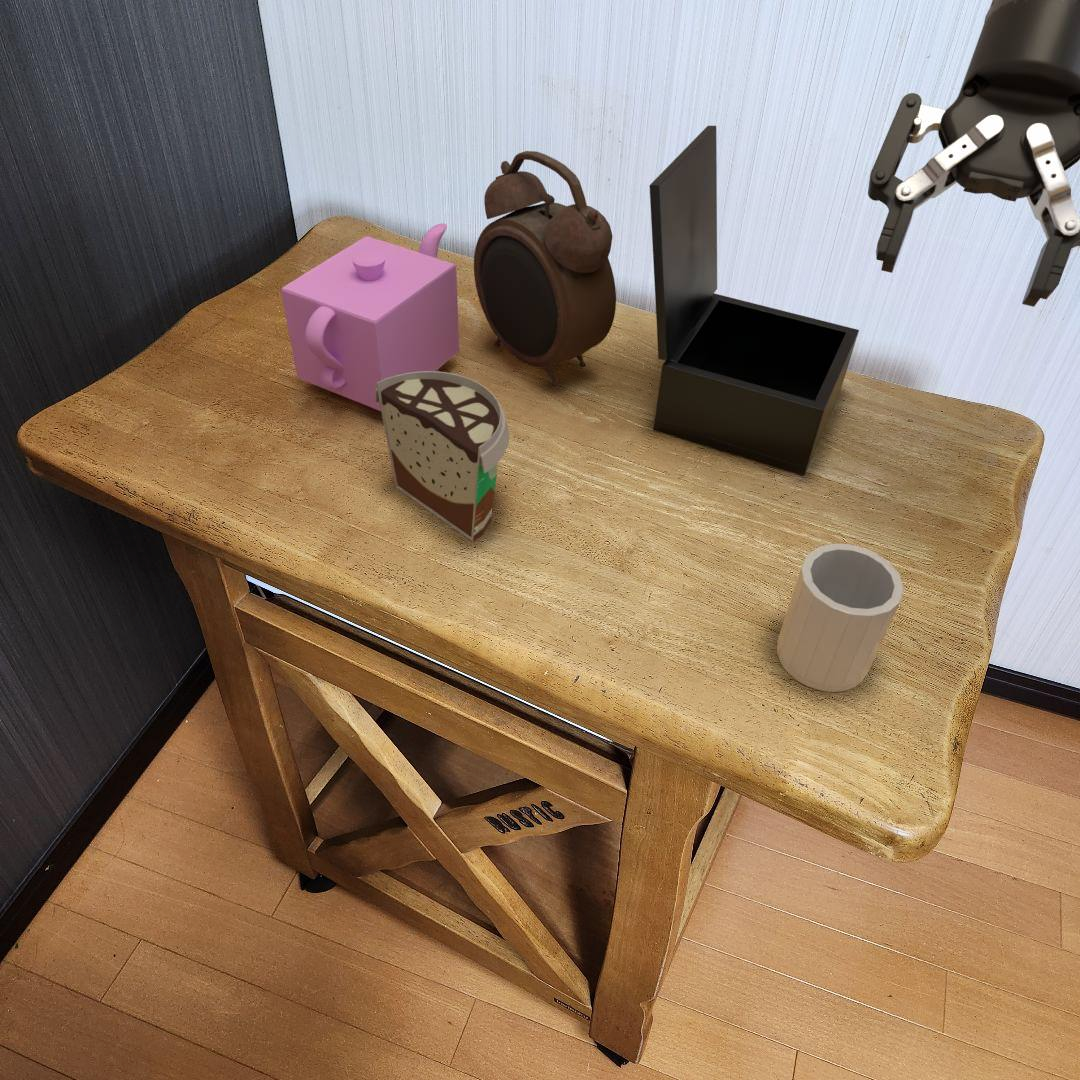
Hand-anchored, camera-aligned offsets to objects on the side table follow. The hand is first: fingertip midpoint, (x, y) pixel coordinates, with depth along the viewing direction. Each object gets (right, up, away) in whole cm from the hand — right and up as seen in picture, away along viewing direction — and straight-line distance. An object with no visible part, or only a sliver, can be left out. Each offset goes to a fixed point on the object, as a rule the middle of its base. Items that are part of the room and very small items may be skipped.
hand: (957, 284), depth 56 cm
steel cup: (-6, -24, +9) cm, 26 cm away
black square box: (-6, -4, +29) cm, 30 cm away
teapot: (-40, +1, +33) cm, 52 cm away
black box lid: (-13, +10, +21) cm, 27 cm away
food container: (-32, -12, +20) cm, 40 cm away
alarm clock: (-26, +2, +34) cm, 43 cm away
